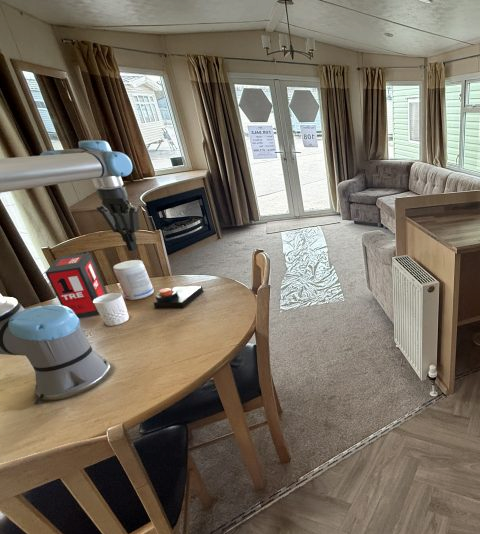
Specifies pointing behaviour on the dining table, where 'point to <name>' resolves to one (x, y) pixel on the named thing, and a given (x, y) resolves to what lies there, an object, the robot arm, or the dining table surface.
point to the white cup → (111, 308)
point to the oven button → (165, 292)
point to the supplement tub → (133, 279)
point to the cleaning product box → (77, 283)
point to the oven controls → (178, 297)
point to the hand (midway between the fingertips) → (133, 249)
